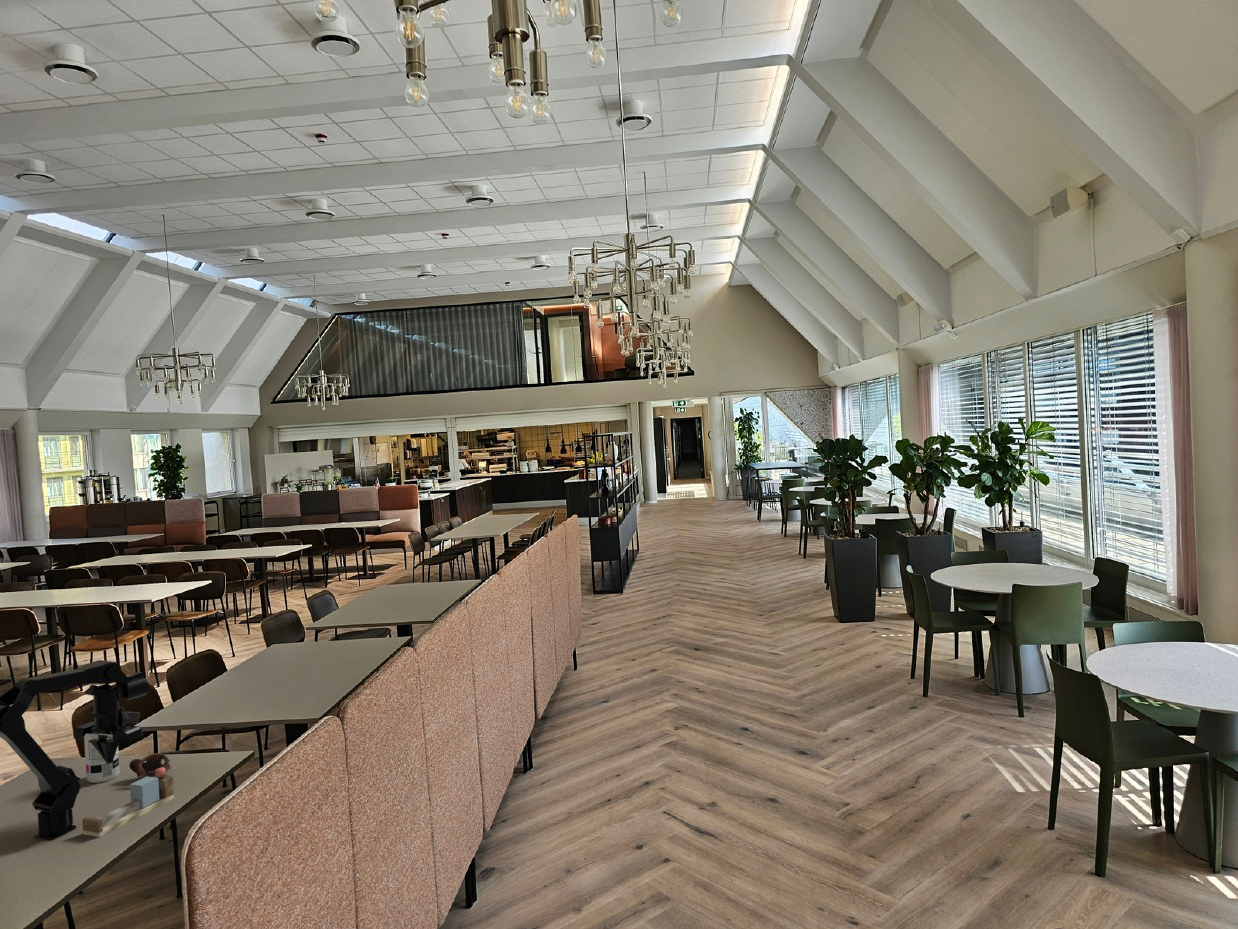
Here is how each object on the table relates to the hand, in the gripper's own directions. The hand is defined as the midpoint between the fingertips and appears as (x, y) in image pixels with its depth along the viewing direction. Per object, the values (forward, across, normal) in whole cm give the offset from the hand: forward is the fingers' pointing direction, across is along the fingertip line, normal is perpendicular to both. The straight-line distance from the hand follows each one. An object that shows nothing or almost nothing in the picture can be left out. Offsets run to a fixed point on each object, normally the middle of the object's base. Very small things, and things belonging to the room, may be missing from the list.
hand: (109, 763), depth 210 cm
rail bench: (+12, -9, +2) cm, 16 cm away
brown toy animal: (+13, +7, -18) cm, 23 cm away
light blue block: (+11, -9, -3) cm, 15 cm away
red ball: (+6, -9, -8) cm, 13 cm away
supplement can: (+13, +22, -15) cm, 30 cm away
